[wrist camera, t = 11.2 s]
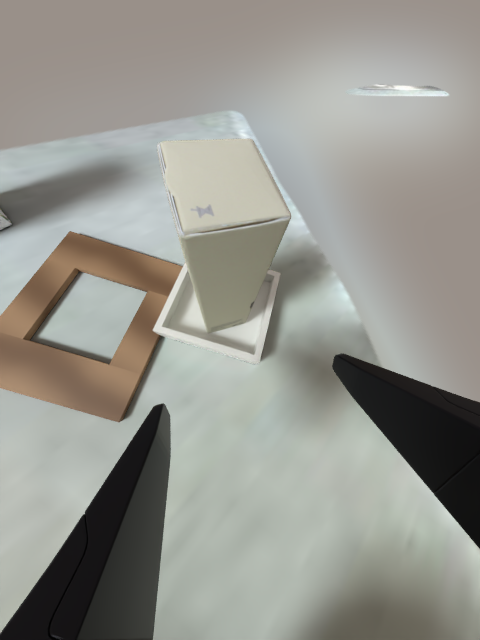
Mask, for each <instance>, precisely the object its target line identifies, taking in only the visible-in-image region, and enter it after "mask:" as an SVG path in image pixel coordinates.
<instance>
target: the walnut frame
mask: <svg viewBox="0 0 480 640" xmlns="http://www.w3.org/2000/svg"><path fill="white" fill-rule="evenodd" d="M182 268H183V267H182V266H179V265H176V264H173V263H169V262H166V261H163V260H160V259H157V258H154V257H150V256H147V255H144V254H141V253H138V252H135V251H131V250H128V249H125V248H122V247H119V246H116V245H112V244H109V243H106V242H103V241H100V240H96V239H93V238H90V237H87V236H84V235H81V234H77V233H74V232H71V231H70V232H69V233H68V234H67V235H66V237H65V238H64V239H63V240H62V241H61V243H60V244H59V245H58V246H57V248H56V249H55V250H54V251H53V252H52V254H51V255H50V256H49V257H48V259H47V260H46V261H45V262H44V263H43V265H42V266H41V267H40V268H39V270H38V271H37V272H36V273H35V274H34V276H33V277H32V278H31V279H30V281H29V282H28V283H27V284H26V285H25V287H24V288H23V289H22V290H21V292H20V293H19V294H18V295H17V296H16V298H15V299H14V300H13V301H12V303H11V304H10V305H9V306H8V307H7V309H6V310H5V311H4V312H3V314H2V315H1V316H0V388H2V389H6V390H9V391H13V392H16V393H20V394H23V395H26V396H30V397H33V398H37V399H40V400H44V401H47V402H51V403H54V404H58V405H61V406H64V407H68V408H71V409H75V410H78V411H82V412H85V413H89V414H92V415H95V416H99V417H102V418H106V419H109V420H113V421H116V422H120V421H122V420H123V418H124V416H125V414H126V412H127V410H128V407H129V405H130V403H131V401H132V399H133V396H134V394H135V392H136V390H137V388H138V385H139V383H140V381H141V379H142V377H143V374H144V372H145V370H146V368H147V366H148V363H149V361H150V359H151V357H152V355H153V352H154V350H155V348H156V346H157V344H158V341H159V339H160V337H161V336H160V335H159V334H157V333H155V332H154V331H153V328H154V326H155V324H156V322H157V320H158V318H159V316H160V314H161V312H162V310H163V307H164V305H165V303H166V301H167V299H168V297H169V295H170V293H171V291H172V289H173V286H174V284H175V282H176V280H177V278H178V276H179V274H180V272H181V270H182ZM79 271H81V272H84V273H88V274H91V275H94V276H97V277H100V278H104V279H107V280H110V281H113V282H117V283H120V284H123V285H126V286H129V287H133V288H136V289H139V290H142V291H146V292H147V294H146V296H145V298H144V300H143V301H142V303H141V305H140V307H139V309H138V311H137V313H136V315H135V317H134V318H133V320H132V322H131V324H130V326H129V328H128V330H127V332H126V334H125V335H124V337H123V339H122V341H121V343H120V345H119V347H118V349H117V351H116V352H115V354H114V356H113V358H112V360H111V362H110V364H107V363H104V362H101V361H97V360H94V359H91V358H87V357H84V356H81V355H77V354H74V353H71V352H67V351H64V350H61V349H57V348H54V347H50V346H47V345H44V344H40V343H37V342H34V341H30V339H31V338H32V336H33V335H34V334H35V332H36V331H37V329H38V328H39V327H40V325H41V324H42V322H43V321H44V320H45V318H46V317H47V315H48V314H49V313H50V311H51V310H52V308H53V307H54V306H55V304H56V303H57V301H58V300H59V299H60V297H61V296H62V295H63V293H64V292H65V290H66V289H67V288H68V286H69V285H70V283H71V282H72V281H73V279H74V278H75V276H76V275H77V274H78V272H79Z"/></svg>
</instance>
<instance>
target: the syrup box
mask: <svg viewBox="0 0 480 640" xmlns="http://www.w3.org/2000/svg"><path fill="white" fill-rule="evenodd" d="M10 225H12V223H11V221H10V220H9V219H8V217H7V216H6V215H5V214H4V212H3V211H2V210H1V209H0V230H1V229H3V228H5V227H8V226H10Z"/></svg>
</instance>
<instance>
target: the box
mask: <svg viewBox="0 0 480 640" xmlns="http://www.w3.org/2000/svg"><path fill="white" fill-rule="evenodd" d="M157 151H158V157H159V162H160V166H161V171H162V176H163V180H164V184H165V188H166V192H167V196H168V200H169V204H170V208H171V211H172V215H173V219H174V222H175V226H176V230H177V233H178V237H179V241H180V244H181V247H182V251H183V254H184V258H185V261H186V265H187V268H188V272H189V275H190V278H191V282H192V285H193V288H194V291H195V295H196V298H197V301H198V304H199V307H200V311H201V314H202V317H203V320H204V324H205V327H206V331H207V333H212V332H216V331H220V330H223V329H227V328H230V327H234V326H238V325H241V324H244V323H246V320H247V318H248V316H249V314H250V311H251V309H252V307H253V304H254V302H255V300H256V297H257V295H258V293H259V290H260V288H261V286H262V284H263V281H264V279H265V277H266V274H267V272H268V270H269V267H270V265H271V263H272V261H273V258H274V256H275V254H276V251H277V249H278V247H279V244H280V242H281V240H282V237H283V235H284V233H285V230H286V228H287V226H288V224H289V221H290V219H291V213H290V211H289V209H288V207H287V205H286V203H285V201H284V198H283V196H282V194H281V192H280V190H279V188H278V186H277V184H276V182H275V180H274V178H273V176H272V174H271V172H270V170H269V168H268V166H267V164H266V163H265V161H264V159H263V157H262V155H261V153H260V152H259V150H258V148H257V146H256V145H255V143H254V141H253V140H252V139H218V140H179V141H163V142H159V143H158V144H157Z"/></svg>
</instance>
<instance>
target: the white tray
mask: <svg viewBox="0 0 480 640" xmlns="http://www.w3.org/2000/svg"><path fill="white" fill-rule="evenodd" d="M280 274H281V273H279V272H276V271H273V270H268V272H267V274H266V277H265V279H264V281H263V284H262V286H261V288H260V290H259V293H258V295H257V297H256V300H255V302H254V304H253V307H252V309H251V311H250V314H249V316H248V318H247V320H246V323H244V324H241V325H238V326H234V327H230V328H227V329H223V330H220V331H216V332H212V333H207V331H206V327H205V324H204V320H203V317H202V314H201V311H200V307H199V304H198V301H197V298H196V295H195V291H194V288H193V285H192V282H191V278H190V275H189V272H188V268H187V265H186V261H185V263H184V266H183V268H182V270H181V272H180V274H179V276H178V278H177V280H176V282H175V284H174V286H173V289H172V291H171V293H170V295H169V297H168V299H167V301H166V303H165V305H164V307H163V310H162V312H161V314H160V316H159V318H158V320H157V322H156V324H155V326H154V328H153V331H154V332H155V333H157V334H159V335H160V336H163V337H166V338H170V339H173V340H176V341H179V342H183V343H186V344H189V345H193V346H196V347H199V348H202V349H206V350H209V351H212V352H216V353H219V354H222V355H225V356H229V357H232V358H235V359H239V360H242V361H245V362H248V363H252V364H258V363H259V362H260V358H261V354H262V350H263V346H264V341H265V337H266V333H267V329H268V325H269V320H270V316H271V312H272V308H273V304H274V299H275V295H276V291H277V287H278V283H279V278H280Z"/></svg>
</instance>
